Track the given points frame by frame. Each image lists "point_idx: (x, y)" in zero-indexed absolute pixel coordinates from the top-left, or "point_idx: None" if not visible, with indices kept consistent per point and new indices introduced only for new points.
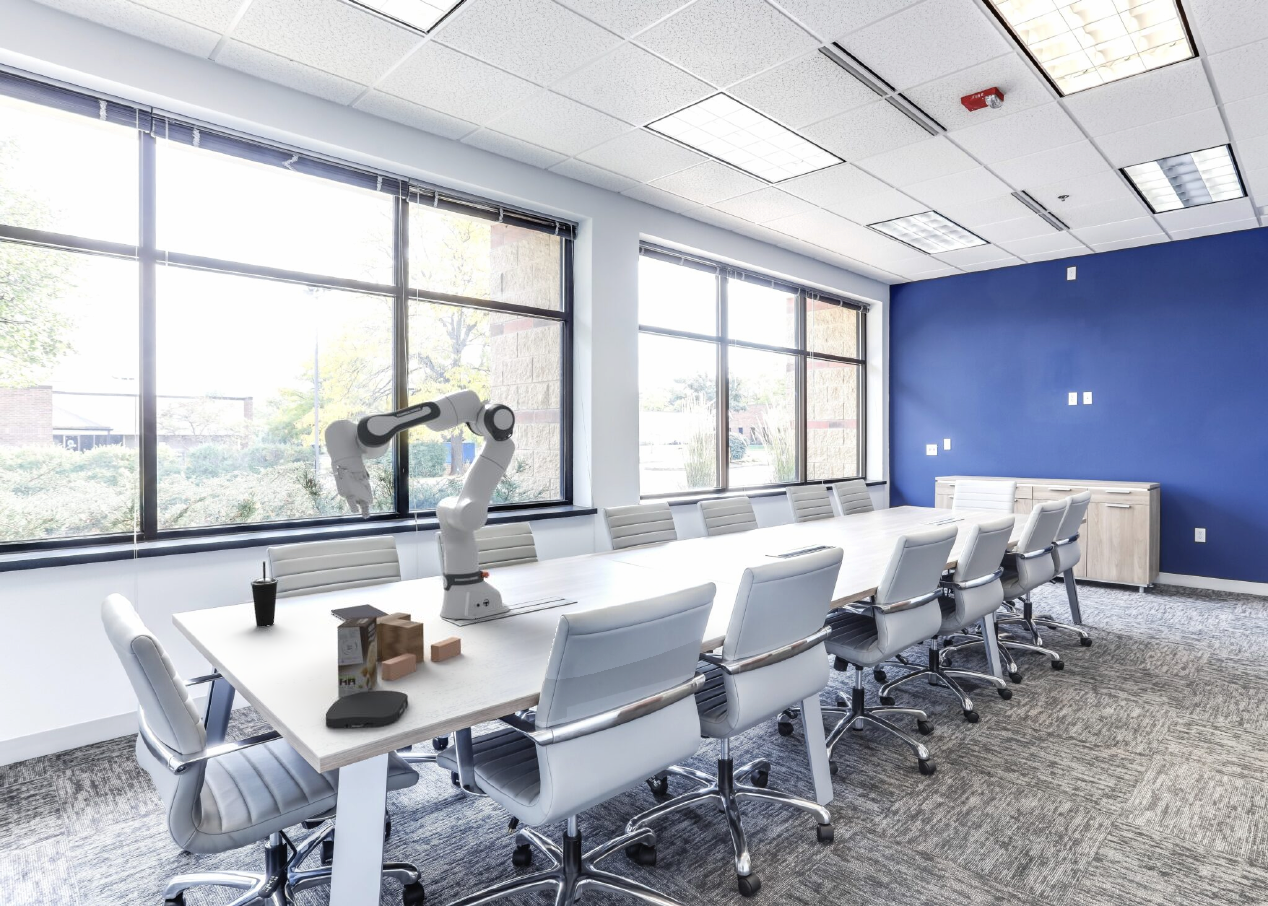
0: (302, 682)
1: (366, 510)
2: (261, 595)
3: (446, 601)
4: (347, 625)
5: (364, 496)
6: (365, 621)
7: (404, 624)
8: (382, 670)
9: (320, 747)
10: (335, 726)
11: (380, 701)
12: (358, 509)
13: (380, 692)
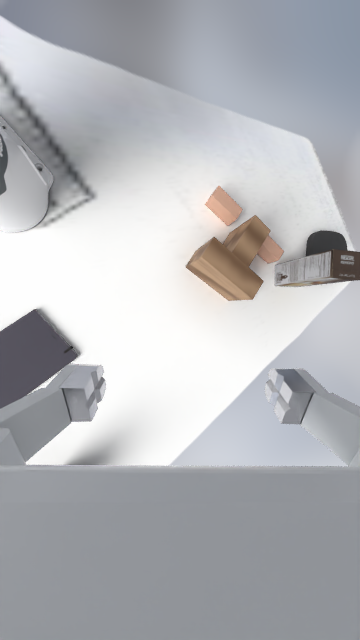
0: (267, 326)
1: (54, 405)
2: None
3: (17, 206)
4: (358, 270)
5: (110, 512)
6: (349, 256)
7: (257, 237)
8: (273, 261)
9: None
10: None
11: (332, 246)
12: (286, 374)
13: (317, 251)
